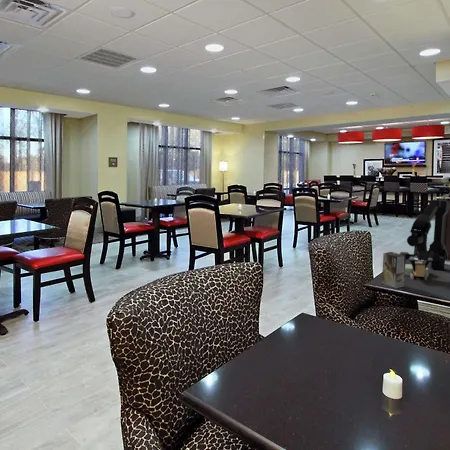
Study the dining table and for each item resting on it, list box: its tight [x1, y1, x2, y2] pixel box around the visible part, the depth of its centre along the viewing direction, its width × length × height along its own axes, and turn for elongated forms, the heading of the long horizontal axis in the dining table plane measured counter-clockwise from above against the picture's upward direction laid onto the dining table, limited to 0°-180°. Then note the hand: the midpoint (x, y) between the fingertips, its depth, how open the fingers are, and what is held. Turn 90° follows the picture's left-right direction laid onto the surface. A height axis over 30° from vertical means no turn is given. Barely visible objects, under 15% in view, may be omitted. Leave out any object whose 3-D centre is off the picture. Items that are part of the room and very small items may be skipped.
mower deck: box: [405, 260, 430, 281], centre depth 211 cm, size 12×16×6 cm
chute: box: [413, 261, 425, 278], centre depth 206 cm, size 4×7×7 cm, turn 166°
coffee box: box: [381, 251, 407, 289], centre depth 195 cm, size 9×6×16 cm
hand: (418, 272), depth 206 cm, fingers closed on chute, 4 cm apart
